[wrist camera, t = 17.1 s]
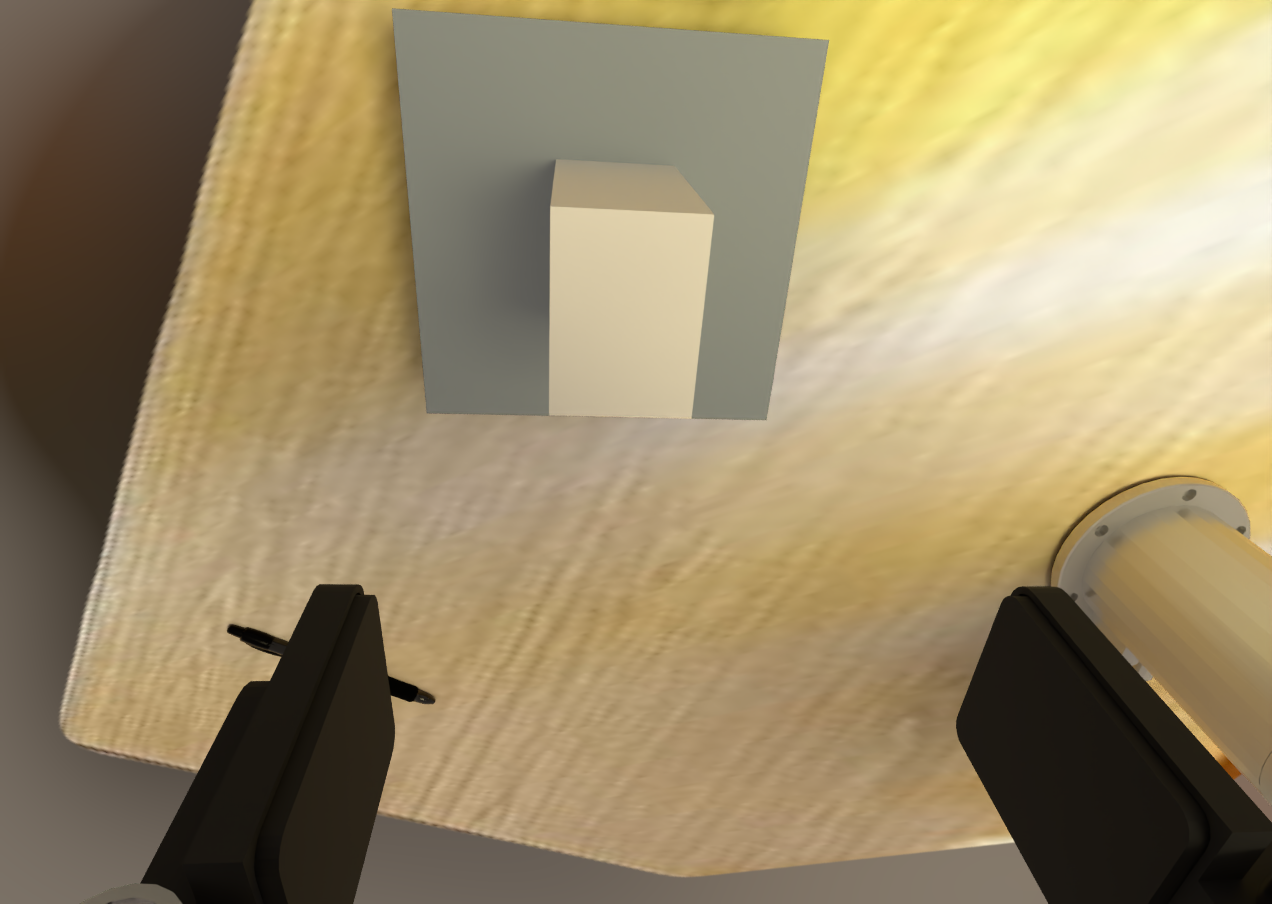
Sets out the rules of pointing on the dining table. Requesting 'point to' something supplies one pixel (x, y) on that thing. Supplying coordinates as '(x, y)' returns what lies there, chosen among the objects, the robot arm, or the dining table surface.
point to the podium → (605, 132)
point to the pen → (278, 646)
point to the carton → (625, 289)
